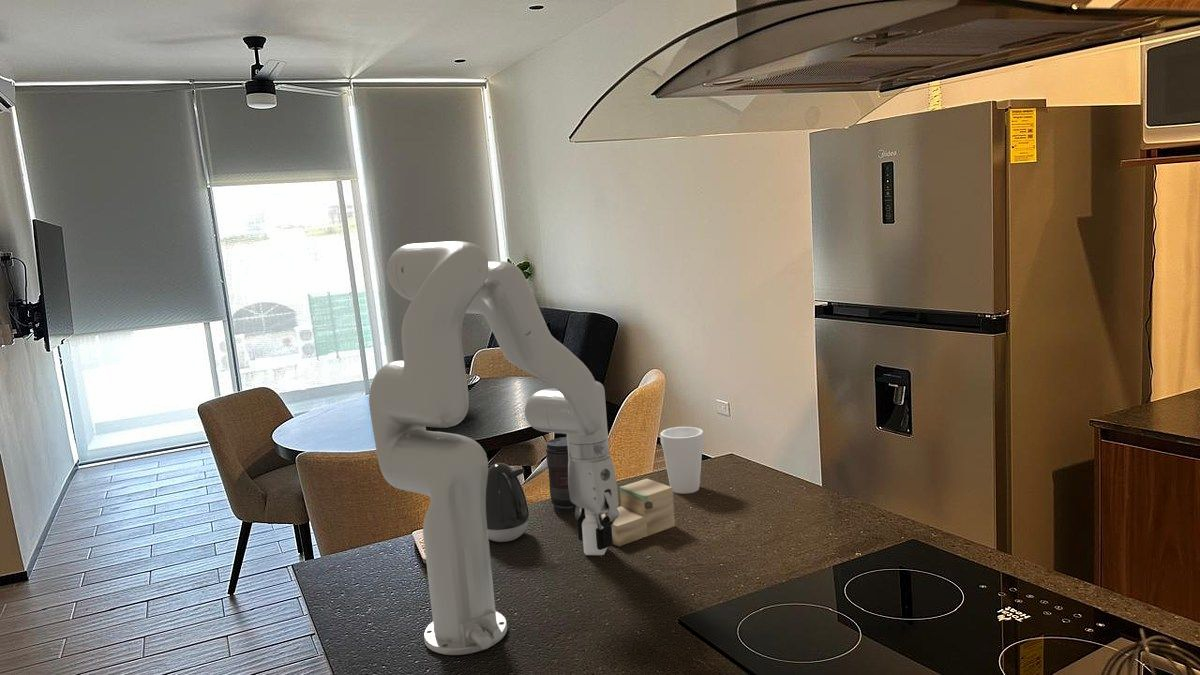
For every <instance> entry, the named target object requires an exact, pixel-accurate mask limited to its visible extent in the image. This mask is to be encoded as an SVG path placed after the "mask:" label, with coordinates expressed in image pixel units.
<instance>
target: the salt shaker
mask: <svg viewBox="0 0 1200 675" xmlns="http://www.w3.org/2000/svg"><path fill="white" fill-rule="evenodd" d="M601 518H602V520H603V519H604V517H602V514H601ZM597 528H598V526H597V522H596V518H595V514H594V513H593V512H591V511H588V510H586V509H585V519H584V520H583V522H582V534H583V541H582V545H583V554H584V555H585V556H604V555H605V553H606V552H607V549H608V547H607V548H604V549H602V550H599V549H597V541H596V529H597Z"/></svg>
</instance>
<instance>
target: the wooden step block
mask: <svg viewBox="0 0 1200 675" xmlns="http://www.w3.org/2000/svg"><path fill="white" fill-rule="evenodd" d="M618 488H619V497H620V506H618V508H617V509H618V511H619V516H618V517H617V518H616V519H615V521H614V522H613V526H612V540H613V545H615V546H617V547H621V546H624V545H627V544H630V543H633V542H635V541H638V540H640V539H643V537H644V538H646V537H649V536H652V535H655V534H657V533H659V532H662V531H664V530H665V531H666V530H668V529H671V528H674V527H676V522H675V521H676V520H675V519H676V518H675V505H674V492H673V487H670V485H667V484H664V483H661V482H658V481H655V480H653V479H650V478H644V479H641V480H638V481H634V482H631V483H628V484H625V485H621V486H618ZM602 517H606V516H605V513H604V514H602Z"/></svg>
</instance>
